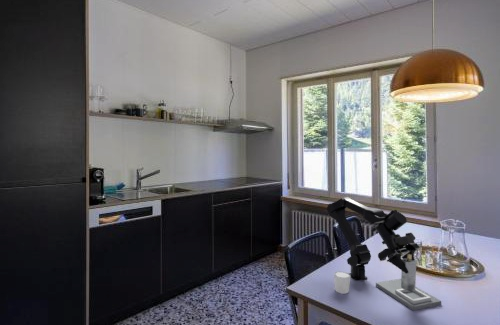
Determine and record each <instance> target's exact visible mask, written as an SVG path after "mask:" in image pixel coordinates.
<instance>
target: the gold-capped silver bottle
mask: <svg viewBox="0 0 500 325" xmlns="http://www.w3.org/2000/svg"><path fill="white" fill-rule="evenodd" d="M401 259H402V261H403V263H404V265H405V266H406V268H407V270H408V273H407V274H406V273H405V272H403V271H402V270H401V274H400V275H401V277H400V279H401V288H403V289H404V290H407V291H415V287H417V286H416V285H417V282H416V280H417V271H416V266H417V261H416V260H412V255H411V254H407V258H404V259H403V258H401Z"/></svg>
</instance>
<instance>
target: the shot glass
mask: <svg viewBox="0 0 500 325" xmlns="http://www.w3.org/2000/svg"><path fill="white" fill-rule="evenodd" d="M348 273H349V272H345V271H335V272H334V273H333V280H334V290H335V291H336V293H338V294H342V295H343V294H348V293H349V292H350V283H351V278H352V277H351V276H350V275H349V274H348Z"/></svg>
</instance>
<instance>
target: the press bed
mask: <svg viewBox="0 0 500 325" xmlns="http://www.w3.org/2000/svg"><path fill="white" fill-rule="evenodd" d="M375 287H376V288H378V289H379V290H381V291H383V292H385V293H386V294H388V295H389V296H390V297H392V298H394V299H395V300H396V301H398V302H400V303H401V304H403V305H404V306H406V307H408V308H409V309H410V310H412V311H417V310H423V309H427V308H431V307H432V308H433V307H436V306H441V305H442V300H441V299H439V298H437V297H435V296H433V295H431V294H429V293H428V292H425V291H424V290H422V289H421V288H420V287H419V288H418V287H417V286H415V291H407V290H404V289H403V288H401V278H397V279H390V280H385V281H378V282H375Z"/></svg>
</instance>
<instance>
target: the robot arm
mask: <svg viewBox="0 0 500 325" xmlns="http://www.w3.org/2000/svg"><path fill="white" fill-rule="evenodd" d="M346 209H349V210H351V211H353V212H354V213H357V214H359V215H361V216H362V217H363V219H364V220H365V221H366V222H368V223H369V224H371V225H372V232H373V233H375V232H377V233H378V234H379V236H380V238H381V239H382V241H381V243H382V245H385V246H386V248H383V250H382V251H379V253H377V257H378V259H379V261H380V262H383V261H386V262H387V263H388V262H389V263H391V265H393V266H395V267H396V268H398V269H399V270H401V272H402V271H403V272H405V273H406V274H407V273H408V270H407V268H406V266H405V265H404V263H403V261H402V259H404V258H407V254H411V255H412V260H415V253H416V251H418V250H419V249H420V247H421V246H419V244H418V242H417V243H416V242H415V241H416V237H415V235H414V233H413V232H407V233H405V235H404V236H401V235H400V234H399V233H397V234H396V232H395V231H397V230H399V229H400V228H402V226H404V225H405V224H406V223H407V222H408V220H407V217H406V216H405V215H404V214H403V213H402V212H399V211H398V210H397V209H392V210H390V212H389V213H386V212H384V210H382V209H380V208H376V207H370V206H367V205H364V204H362V203H359V202H357V201H356V200H353V199H351V198H350V197H348V196H347V197H342V198H340V199H338V200H336V201H334V202H331V203H328V204H327V207H326V211H327V213H328V215H329V216H330V218H332V219H334V220H335V221H336V223H337V224H338V226H339V228H340V230H341V232H342V234H343V236H344V238H345V240H346V242H347V243H348V245H349V246H348V247H349V254H350V256H348V258H347V259H346V262H347V264H348V265H349V266H350V273H349V272H347V273H348V274H349V275H350V276H351V277H350V278H352V279H353V280H355V281H360V280H361V281H362V280H367V279H368V277H367V276H366V265H369V262H370V261H371V258H372V255H371V251H370V250H369V248H368V245H367V244H366V243H364V244H363V243H361V242H360V241H359V239H358V237H357V235H356V234H355V232H354V230H353V228H352V225H351V224H350V223H349V220H348V219H347V217H346ZM374 224H375V225H374ZM387 258H388V259H387ZM415 261H416V260H415ZM417 271H418V267H417V265H416V272H417Z"/></svg>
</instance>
